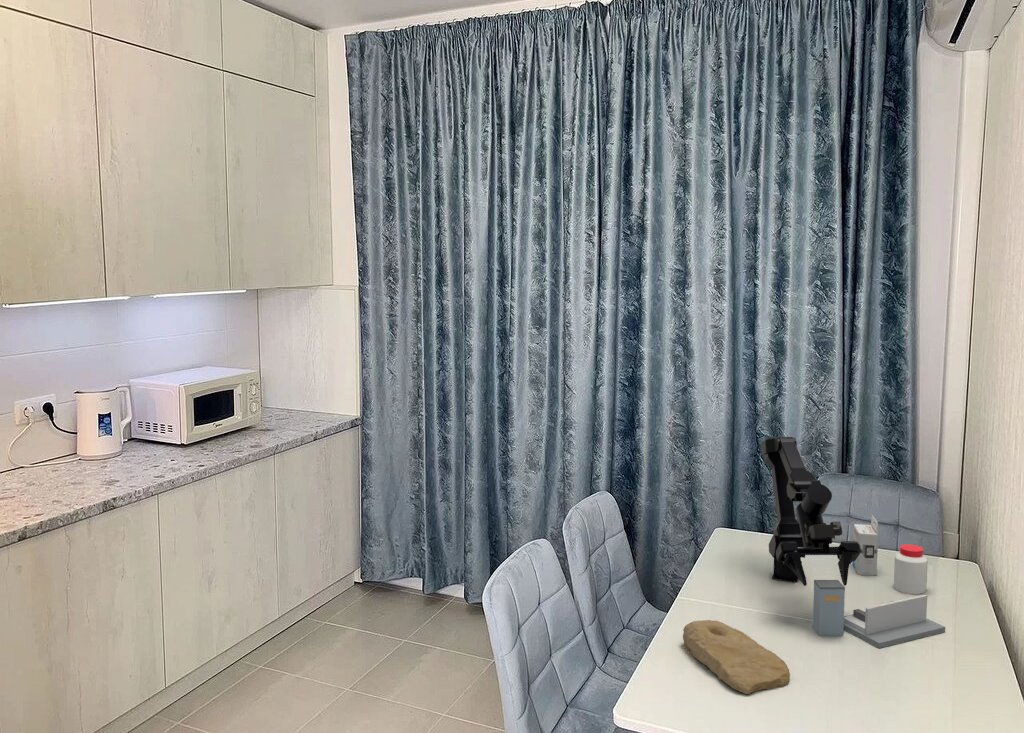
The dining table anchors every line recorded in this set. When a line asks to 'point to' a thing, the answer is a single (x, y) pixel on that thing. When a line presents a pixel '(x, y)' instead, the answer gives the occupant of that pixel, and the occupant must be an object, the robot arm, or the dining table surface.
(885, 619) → the grey holder stand
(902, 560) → the pill bottle
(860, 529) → the ink box
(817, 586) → the block
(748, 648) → the stone
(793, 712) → the dining table surface
